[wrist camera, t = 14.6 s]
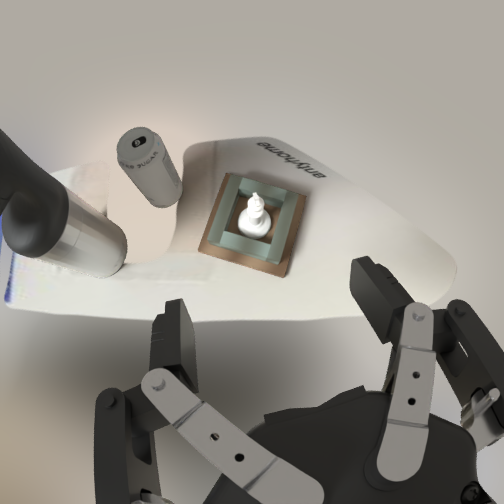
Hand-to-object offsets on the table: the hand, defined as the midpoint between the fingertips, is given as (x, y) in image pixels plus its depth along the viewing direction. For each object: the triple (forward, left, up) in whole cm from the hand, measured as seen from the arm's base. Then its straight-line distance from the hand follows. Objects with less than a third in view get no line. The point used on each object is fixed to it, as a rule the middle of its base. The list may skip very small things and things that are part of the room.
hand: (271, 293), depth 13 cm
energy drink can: (-19, +13, -29) cm, 37 cm away
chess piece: (-4, +11, -28) cm, 30 cm away
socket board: (-4, +12, -29) cm, 31 cm away
